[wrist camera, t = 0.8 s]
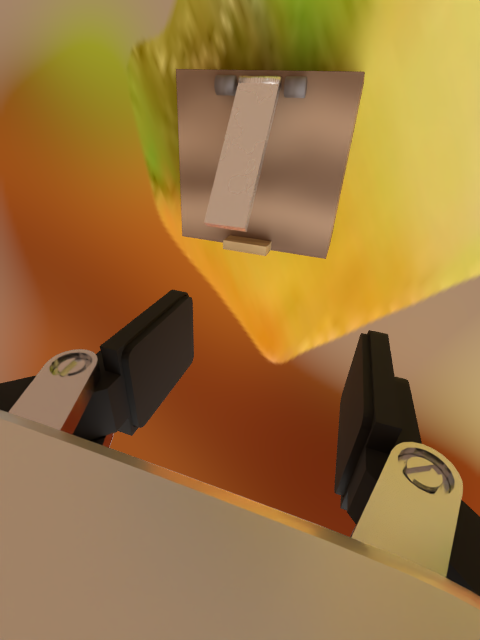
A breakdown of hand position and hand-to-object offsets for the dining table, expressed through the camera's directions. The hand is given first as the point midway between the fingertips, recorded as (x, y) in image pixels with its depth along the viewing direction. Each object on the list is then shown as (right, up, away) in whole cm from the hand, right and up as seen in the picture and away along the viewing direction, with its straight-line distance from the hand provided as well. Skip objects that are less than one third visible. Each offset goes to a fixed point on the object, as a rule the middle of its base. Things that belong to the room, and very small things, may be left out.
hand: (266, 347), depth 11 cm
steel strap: (-1, +13, +11) cm, 17 cm away
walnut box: (+2, +16, +19) cm, 25 cm away
